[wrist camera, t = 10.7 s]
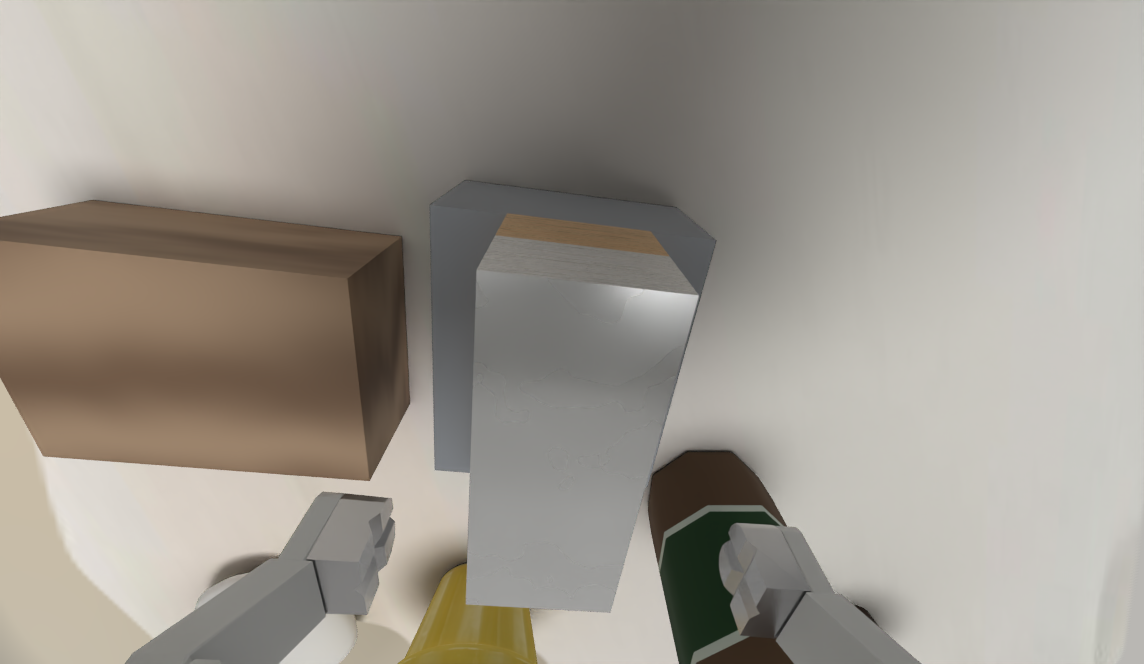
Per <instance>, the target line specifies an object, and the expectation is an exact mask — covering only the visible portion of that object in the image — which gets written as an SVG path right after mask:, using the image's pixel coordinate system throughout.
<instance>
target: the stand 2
mask: <svg viewBox="0 0 1144 664" xmlns="http://www.w3.org/2000/svg"><path fill="white" fill-rule="evenodd" d="M507 213H511V214H519V215H527V216H534V217H542V218H550V219H558V220H566V221H574V222H582V223H590V224H598V225H606V226H614V227H622V228H630V229H638V230H646V231H651V232H652V234H653V235H654V236H655V238H656V239H657V240H658V242H659V243H660V244H661V246H662V247H663V248H664V250H665V251H666V252H667V254H668V255H669V256H670V258H671V259H672V260H673V262H674V263H675V264H676V266H677V267H678V268H679V270H680V271H681V272H682V274H683V275H684V276H685V277H686V279H687V280H688V281H689V283H690V284H691V285H692V287H693V288H694V289H695V291H696V292H697V293H698V295H699V298H698V301H697V305H696V308H695V312H694V315H693V319H692V322H691V326H690V330H689V333H688V337H687V340H686V344H685V347H684V351H683V355H682V358H681V362H680V365H679V369H678V372H677V376H676V380H675V383H674V387H673V390H672V394H671V397H670V401H669V405H668V408H667V412H666V415H665V419H664V422H663V426H662V430H661V433H660V437H659V440H658V444H657V447H656V451H655V455H654V458H653V462H652V465H651V469H650V472H649V476H648V480H647V483H646V487H647V486H648V483H649V479H650V476H651V472H652V469H653V465H654V461H655V458H656V454H657V451H658V447H659V444H660V440H661V436H662V433H663V429H664V426H665V422H666V419H667V415H668V411H669V408H670V404H671V401H672V397H673V394H674V390H675V386H676V383H677V379H678V376H679V372H680V369H681V365H682V361H683V358H684V354H685V351H686V347H687V344H688V340H689V336H690V333H691V329H692V326H693V322H694V319H695V315H696V311H697V308H698V304H699V301H700V297H701V294H702V290H703V286H704V283H705V279H706V276H707V272H708V269H709V265H710V261H711V258H712V254H713V251H714V247H715V244H716V240H715V239H714V238H713V237H712V236H711V235H709V234H708V233H707V232H706V231H704V230H703V229H702V228H701V227H700V226H698V225H697V224H696V223H695V222H694V221H692V220H691V219H690V218H689V217H687V216H686V215H685V214H684V213H683V212H681V211H680V210H679V209H678V208H677V207H669V206H661V205H653V204H646V203H638V202H630V201H622V200H615V199H607V198H599V197H591V196H584V195H576V194H568V193H560V192H553V191H545V190H537V189H529V188H521V187H514V186H506V185H498V184H490V183H483V182H475V181H467V180H465V181H463V182H462V183H460V184H459V185H458V186H456V187H455V188H453V189H452V190H450V191H449V192H447V193H446V194H445V195H443V196H442V197H440V198H439V199H437V200H436V201H435V202H433V203H432V204H430V246H431V298H432V351H433V404H434V457H435V470H440V471H453V472H466V473H470V456H471V425H472V395H473V364H474V333H475V302H476V271H477V268H478V266H479V264H480V263H481V261H482V259H483V257H484V255H485V253H486V252H487V250H488V248H489V246H490V244H491V242H492V240H493V239H494V237H495V235H496V233H497V231H498V229H499V228H500V226H501V224H502V222H503V220H504V218H505V217H506V215H507Z"/></svg>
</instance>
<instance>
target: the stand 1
mask: <svg viewBox="0 0 1144 664" xmlns="http://www.w3.org/2000/svg"><path fill="white" fill-rule="evenodd" d="M0 378H1V380H2V382H3V383H4V385H5V387H6V389H7V391H8V392H9V394H10V396H11V398H12V400H13V402H14V403H15V405H16V407H17V409H18V411H19V413H20V415H21V416H22V418H23V420H24V422H25V424H26V426H27V427H28V429H29V431H30V433H31V435H32V436H33V438H34V440H35V442H36V444H37V446H38V447H39V449H40V451H41V453H42V455H43V456H46V457H59V458H73V459H86V460H99V461H112V462H125V463H139V464H152V465H165V466H178V467H192V468H205V469H218V470H231V471H245V472H258V473H271V474H284V475H297V476H311V477H324V478H337V479H350V480H364V481H370V479H371V477H372V475H373V473H374V472H375V470H376V468H377V466H378V464H379V462H380V460H381V458H382V456H383V454H384V452H385V450H386V449H387V447H388V445H389V443H390V441H391V439H392V437H393V435H394V433H395V431H396V429H397V427H398V426H399V424H400V422H401V420H402V418H403V416H404V414H405V412H406V410H407V408H408V406H409V405H410V396H409V375H408V355H407V334H406V314H405V293H404V273H403V252H402V237H401V236H393V235H384V234H376V233H367V232H359V231H351V230H342V229H334V228H325V227H317V226H308V225H300V224H291V223H283V222H274V221H266V220H257V219H249V218H240V217H232V216H223V215H215V214H206V213H198V212H189V211H181V210H172V209H164V208H155V207H147V206H138V205H130V204H121V203H113V202H104V201H96V200H90V201H84V202H79V203H73V204H68V205H63V206H57V207H52V208H46V209H41V210H36V211H30V212H25V213H19V214H14V215H9V216H3V217H0Z"/></svg>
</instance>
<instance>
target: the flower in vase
mask: <svg viewBox="0 0 1144 664" xmlns="http://www.w3.org/2000/svg"><path fill="white" fill-rule="evenodd" d="M247 574H248V573H244V574H239V575H235V576H232V577H229V578H227V579H225V580H223V581H221V582H219V583H217V584H215V585H213V586H212V587H210V588H209V589H207V590H206V591H205V592H204V593H203V594H202V595H201V596H200V597H199V599H198V601H197V604H196V607H195V610H196V609H197V608H199V607H200V606H202V605H203V604H205V603H206V602H208V601H209V600H211V599H212V598H213V597H215V596H216V595H218V594H219V593H221V592H222V591H224V590H225V589H226V588H228V587H229V586H231V585H232V584H234V583H235V582H237V581H238V580H239V579H241V578H242V577H244V576H245V575H247ZM195 610H194V611H195ZM357 637H358V631H357V625H356V620H355V616H354V614H326V617H325V618H324V619H323V620H322V621H321V622H320V623H319V624H318V625H317V626H316V627H315V628H314V629H313V630H312V631H311V632H310V633H309V634H308V635H307V636H306V637H305V638H304V639H303V640H302V641H301V642H300V643H299V644H298V645H297V646H296V647H295V648H294V649H293V650H292V651H291V652H290V653H289V654H288V655H287V656H286V657H285V658H284V659H283V660H282V661H281V662H280V663H279V664H339V663H340V662H341V661H342V660H343V659H344V658H345V657H346V656H347V654H348V653H349V652H350V651H351V649H352V648H353V647H354V645H355V643H356V641H357Z"/></svg>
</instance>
